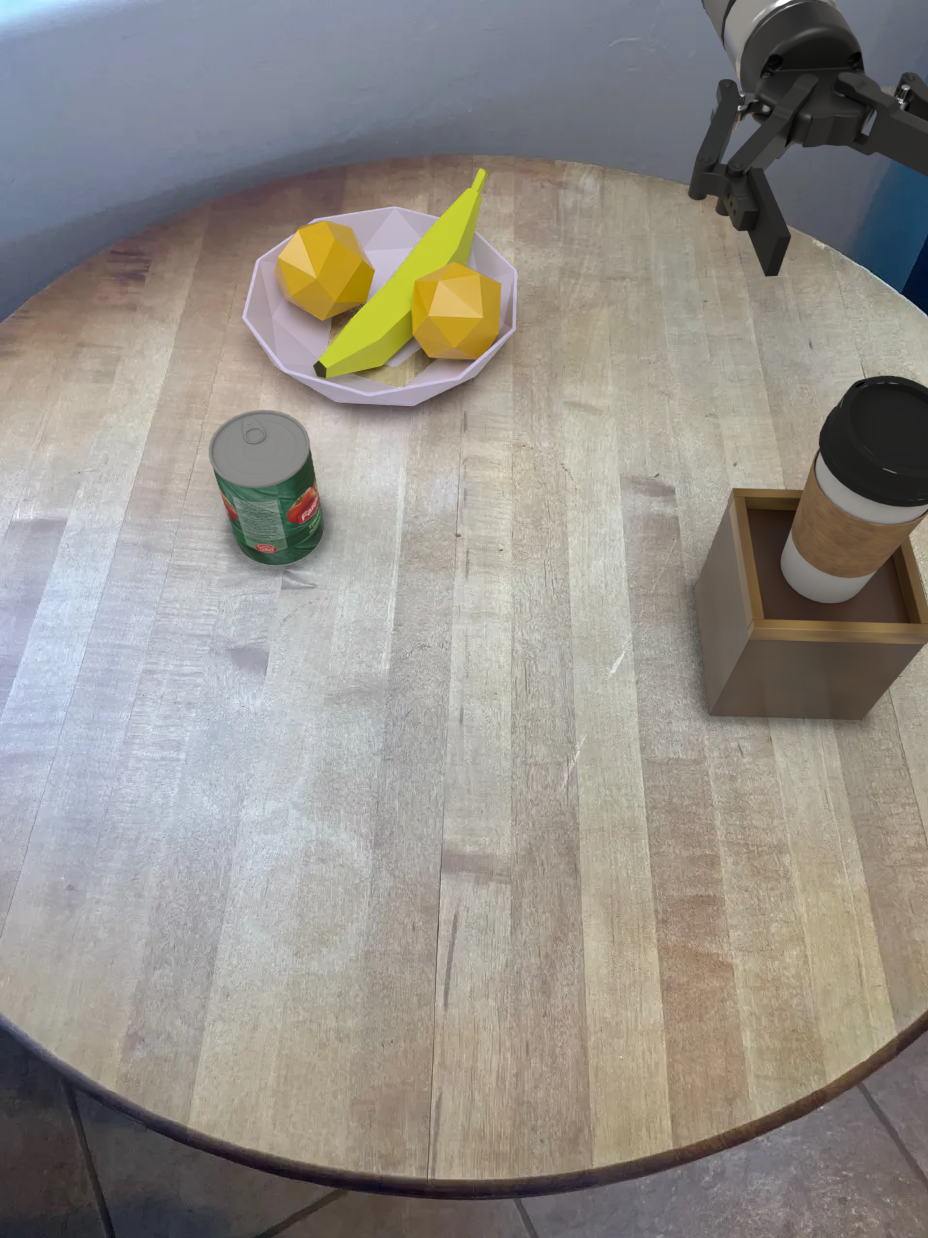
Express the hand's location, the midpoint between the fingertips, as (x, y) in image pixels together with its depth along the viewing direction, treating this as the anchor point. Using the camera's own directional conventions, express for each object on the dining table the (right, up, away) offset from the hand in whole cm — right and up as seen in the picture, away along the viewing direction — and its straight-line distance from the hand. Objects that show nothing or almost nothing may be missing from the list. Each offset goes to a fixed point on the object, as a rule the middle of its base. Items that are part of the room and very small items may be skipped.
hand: (891, 251), depth 56 cm
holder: (0, -24, +23) cm, 33 cm away
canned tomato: (-41, -14, +29) cm, 52 cm away
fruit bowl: (-32, +7, +42) cm, 53 cm away
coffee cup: (+1, -18, +13) cm, 22 cm away
